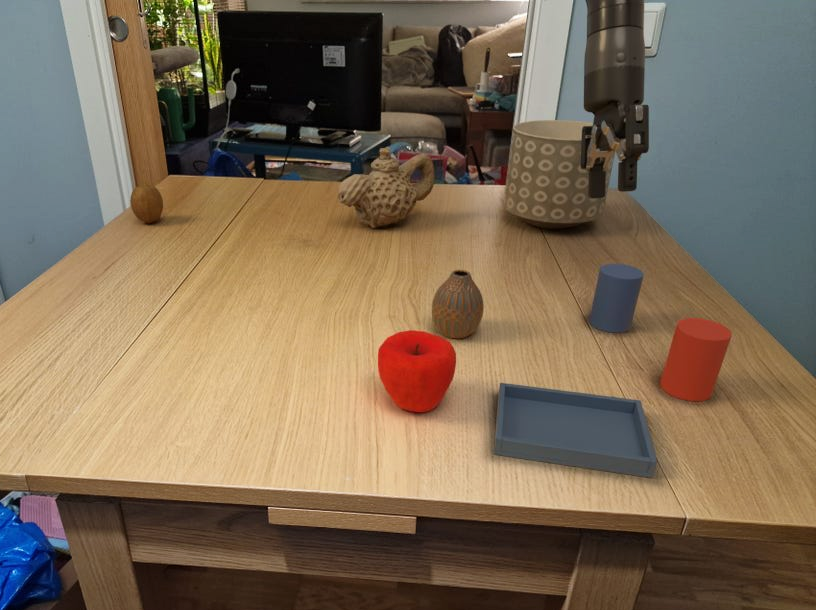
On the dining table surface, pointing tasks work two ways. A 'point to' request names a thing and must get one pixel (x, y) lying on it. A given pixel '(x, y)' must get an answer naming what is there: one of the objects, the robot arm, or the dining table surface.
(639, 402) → the blue tray
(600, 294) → the blue canister
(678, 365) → the red canister
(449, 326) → the vase
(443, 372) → the apple
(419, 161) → the teapot
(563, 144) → the planter
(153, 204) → the fruit
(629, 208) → the dining table surface
